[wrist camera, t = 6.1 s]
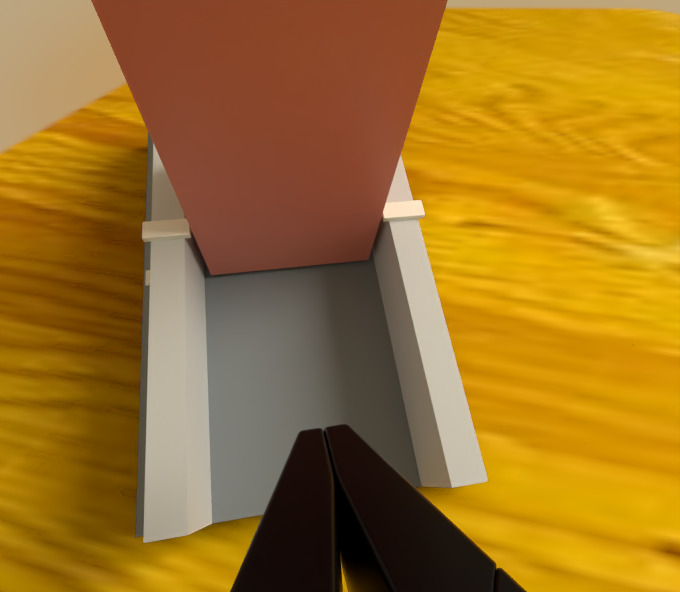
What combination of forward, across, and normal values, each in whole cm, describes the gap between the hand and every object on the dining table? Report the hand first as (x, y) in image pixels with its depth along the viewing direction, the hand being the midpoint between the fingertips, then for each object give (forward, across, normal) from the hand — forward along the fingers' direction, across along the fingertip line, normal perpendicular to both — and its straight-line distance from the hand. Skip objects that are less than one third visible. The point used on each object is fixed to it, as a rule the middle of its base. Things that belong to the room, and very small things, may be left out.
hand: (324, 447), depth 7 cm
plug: (+11, 0, -1) cm, 11 cm away
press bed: (+10, 0, +1) cm, 10 cm away
